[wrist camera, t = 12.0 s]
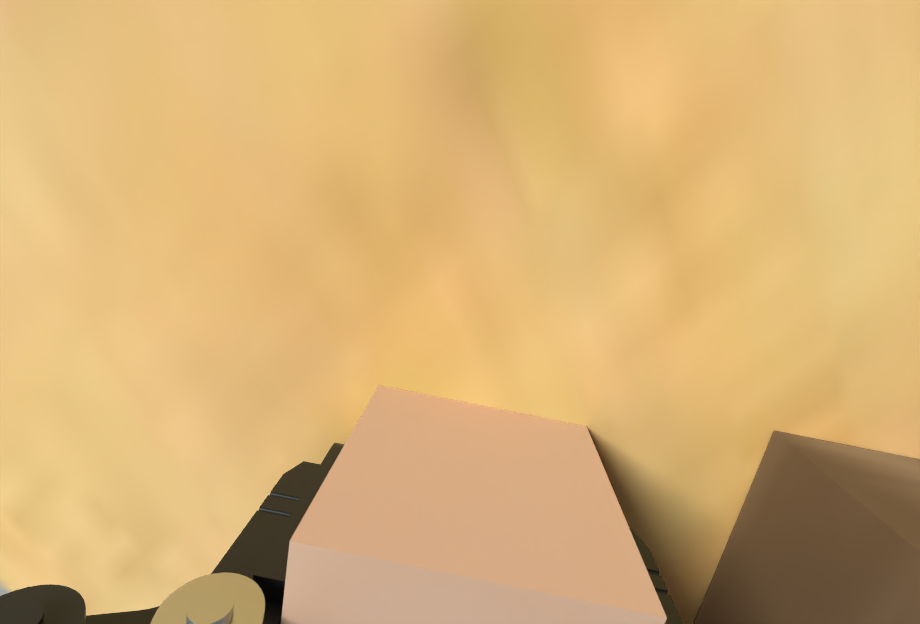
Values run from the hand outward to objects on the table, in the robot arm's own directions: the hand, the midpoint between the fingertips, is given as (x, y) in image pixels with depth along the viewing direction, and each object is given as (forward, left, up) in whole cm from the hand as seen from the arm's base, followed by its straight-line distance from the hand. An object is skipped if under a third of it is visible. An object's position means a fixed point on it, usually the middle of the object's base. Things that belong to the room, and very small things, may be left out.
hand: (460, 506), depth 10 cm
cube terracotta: (0, 0, 0) cm, 0 cm away
